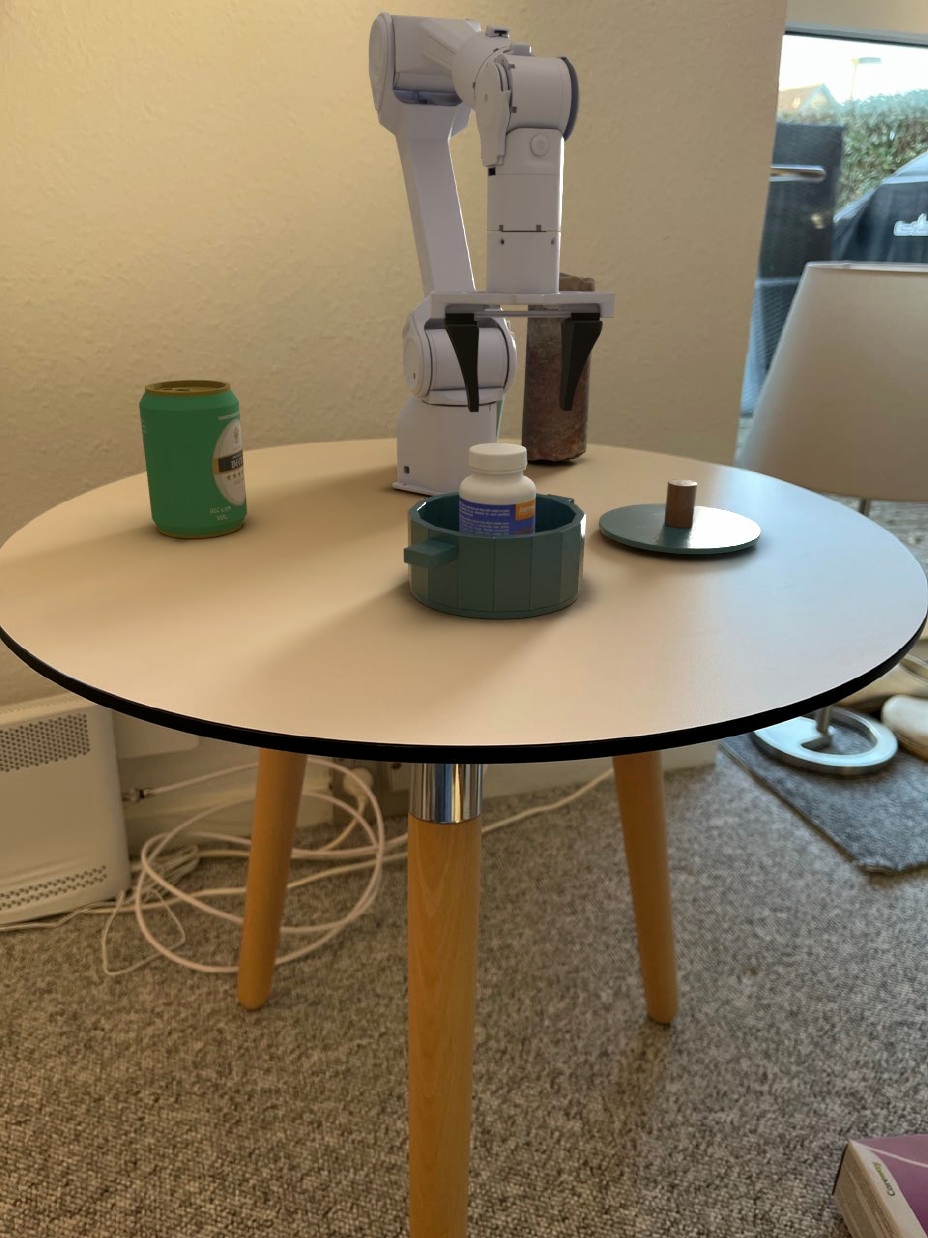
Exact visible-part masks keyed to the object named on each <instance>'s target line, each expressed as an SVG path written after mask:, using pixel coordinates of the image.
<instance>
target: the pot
mask: <svg viewBox="0 0 928 1238" xmlns="http://www.w3.org/2000/svg"><path fill="white" fill-rule="evenodd" d="M586 520H587V514H586V512H585V511H584V510H583V509H582V508H581V507H580V506H579V505H578V504H576V503H575V498H573V497H567V496H561V495H556V494H551V493H547V494H543V493H537V492H536V504H535V533H532V534H518V535H485V534H472V533H461V532H459V492H453V493H446V494H440V495H436V496H430V497H426V498H423V499H421V500H417V501H416V502H415V503H413V505H412V506H411V507H409V508H408V509H407V546H406V547H404V548H403V563H405V564H407V569H408V571H407V573H408V574H407V575H408V576H407V577H408V582H409V591H410V594H411V596H413V598H414V599H416V600H417V602H419V603H420V604H422V605H424V606H426V607H428V608H431V609H433V610H436V611H440V612H443V613H447V614H451V615H454V616H461V617H465V618H466V617H467V618H476V619H486V620H487V619H489V620H490V619H491V620H507V619H512V620H513V619H524V618H530V617H532V618H533V617H537V616H543V615H547V614H550V613H555V612H557V611H560V610H563V609H564V608H566V607H569V606H570V605H572V604H573V603H574V602H575V601H576V600H577V599H578V598H579V596H580V594H581V586H582V585H583V577H584V574H583V572H584V556H585V541H586V540H585V539H586V524H587V523H586Z"/></svg>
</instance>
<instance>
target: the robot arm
mask: <svg viewBox="0 0 928 1238" xmlns="http://www.w3.org/2000/svg"><path fill="white" fill-rule="evenodd" d="M481 28H482V27H481V23H480V21H477V20H474V19H472V18H465V19H458V18H445V17H444V18H443V17H433V16H418V15H403V14H390V13H389V12H385V11H381V12H379V13H378V15H377V16H376V18H375V19H373V22H372V24H371V27H370V32H369V39H368V76H369V81H370V87H371V93H372V99H373V105H374V109H375V111H376V114H377V115H376V116H377V120H378V124H379V125H381V127H383V128H384V129H385V130H387V131H388V132H389V133H391V134H392V135H393V136H394V137H395V141H396V147H397V150H398V156H399V160H400V164H401V171H402V176H403V181H404V186H405V193H406V199H407V204H408V211H409V216H410V221H411V226H412V233H413V238H414V239H413V240H414V244H415V249H416V255H417V260H418V266H419V267H418V268H419V273H420V278H421V283H422V289H423V295H424V298H423V300H421V301H420V302H419V303H418V304H417V305H416V306H415V307H414V308H412V310H410V312H408V315H407V316H406V318H405V320H404V324H403V327H402V329H401V339H402V347H403V348H402V369H403V375H404V381H405V383H406V386H407V389H408V390H409V391H410V392H411V393H412V395H413V396H411V397H410V398H408V399H407V400H406V401H405V402H404V403H403V405H402V406H401V408H400V410H399V413H398V417H397V420H396V468H397V469H396V470H397V472H396V473H397V481H394V482H392V486H391V487H392V488H393V489H397V490H401V491H407V492H412V493H416V494H421V495H426V496H430V497H433V496H436V495H440V494H446V493H453V492H459V489H460V485H461V483H462V481H463V480H464V479H465V478H467V477H468V476H471V475H472V470H471V469H470V468H469V449H470V448H471V447H472V446H475V445H479V444H486V443H496V412H497V401H502V400H503V393H505V394H506V393H507V392H508V391H509V390H510V388H511V386H512V385H513V383H514V382H515V379H516V375H517V371H518V370H517V369H518V352H517V346H516V343H515V342H516V341H515V342H514V339H513V337H512V335H511V334H510V332H509V330H508V327H507V324H506V320H507V318H508V319H509V318H510V319H511V318H528V317H568V319H565V320H564V321H563V322H562V323H561V340H562V370H561V380H560V391H559V407H560V408H561V409H562V410H563V411H572V408H573V402H574V397H575V393H576V389H577V386H578V383H579V380H580V377H581V374H582V371H583V368H584V366H585V364H586V361H587V359H588V357H589V355H590V353H591V351H592V352H593V348H594V347H595V345H596V343H597V341H598V339H599V337H600V336H601V333H602V330H603V328H604V327H603V326H604V323H603V320H601V319H614V317H615V300H616V292H612V291H595V292H582V291H559V272H560V261H561V258H560V257H561V232H562V205H563V204H562V203H563V180H564V179H563V177H564V149H565V143H566V142H567V141H568V140H569V139H570V138H571V136H572V135H573V132H574V130H575V127H576V125H577V121H578V118H579V112H580V105H581V83H580V77H579V72H578V70H577V67H576V65H575V64H574V63H573V62H572V61H571V60H570V58H569V56H568V55H558V56H555V57H546V56H545V57H544V56H541V57H540V56H538V55H537V54H535V53H533V52H532V46H531V45H530V44H529V43H528V42H526V41H522V40H521V41H520V40H513V39H511V38H510V31H511V30H510V28H509V27H507V26H505V25H500V24H490V23H489V24H487V25H486V27H485V30H484V29H483V30H482V29H481ZM473 111H474V112H475V120H476V126H477V130H478V134H479V138H480V159H481V165H482V166H483V167H485V168H486V169H487V178H486V179H487V180H486V181H487V187H486V188H487V189H486V190H487V191H486V193H487V194H486V197H487V198H486V282H485V285H486V289H485V290H477V289H476V286H475V281H474V280H475V279H474V276H473V275H474V274H473V270H472V264H471V258H470V253H469V248H468V247H469V246H468V242H467V236H466V232H465V225H464V220H463V214H462V209H461V203H460V198H459V193H458V187H457V181H456V177H455V176H456V175H455V171H454V166H453V160H452V155H451V149H450V140H451V139H452V138H453V137H454V136H456V135H458V134H459V133H461V132H462V131H464V130H465V129H467V128H468V126H469V123H470V118H471V115H472V113H473ZM528 305H543V307H544V308H547V309H558V310H555V311H528V310H503V308H502V307H501V306H528Z"/></svg>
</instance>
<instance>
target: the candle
mask: <svg viewBox="0 0 928 1238" xmlns="http://www.w3.org/2000/svg"><path fill="white" fill-rule="evenodd" d="M596 284H597V283H596V280H595V279H594V278H593V277H583V276H578V275H571V274H569V273H565V272H561V271H559V291H582V292H596V286H597V285H596ZM555 310H558V309H547V308H544V307H543V305H527V311H555ZM526 318H527V321H526V324H527V325H526V341H525V365H524V386H523V399H522V400H523V403H522V418H521V419H522V420H521V422H522V423H521V442H520V444H521V446H523V447H525V448H526V453H527V461H531V462H534V461H538V460H540V461H549V462H558V461H569V460H575V459H578V458H580V457H581V456H582V455H584V454H585V453H586V452H587V448H588V447H587V445H588V429H589V415H590V414H589V412H590V391H591V371H592V356H593V355H592V354H593V350H592V351H591V353H590V355H589V357H588V359H587V361H586V364H585V366H584V368H583V371H582V374H581V377H580V380H579V383H578V386H577V389H576V393H575V397H574V402H573V408H572V411H563V410H562V409H561V408H560V407H559V391H560V380H561V370H562V340H561V323H562V322H563V321H564V320H565V319H568V317H526Z"/></svg>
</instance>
